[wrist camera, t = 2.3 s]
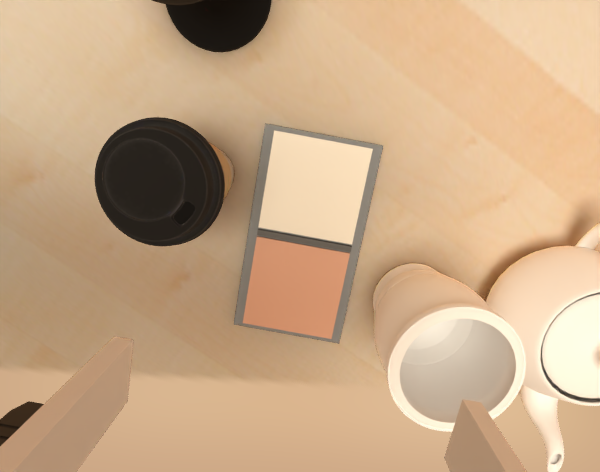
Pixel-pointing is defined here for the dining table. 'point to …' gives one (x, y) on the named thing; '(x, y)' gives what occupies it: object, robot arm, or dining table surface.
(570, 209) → the dining table surface
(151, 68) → the dining table surface
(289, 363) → the dining table surface
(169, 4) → the wine glass
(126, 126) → the coffee cup
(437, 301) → the jar
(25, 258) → the dining table surface
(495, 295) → the teapot
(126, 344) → the robot arm
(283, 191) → the makeup palette
